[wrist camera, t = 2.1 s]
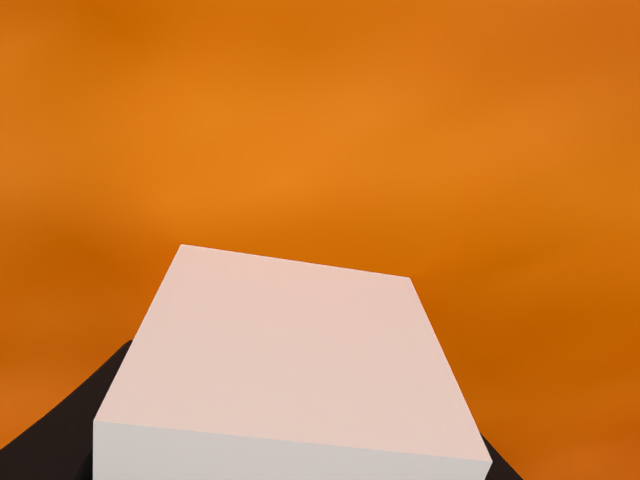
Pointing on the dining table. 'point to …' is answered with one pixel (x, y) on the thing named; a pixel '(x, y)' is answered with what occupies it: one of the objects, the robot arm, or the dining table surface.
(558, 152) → the dining table surface
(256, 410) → the off-white block
